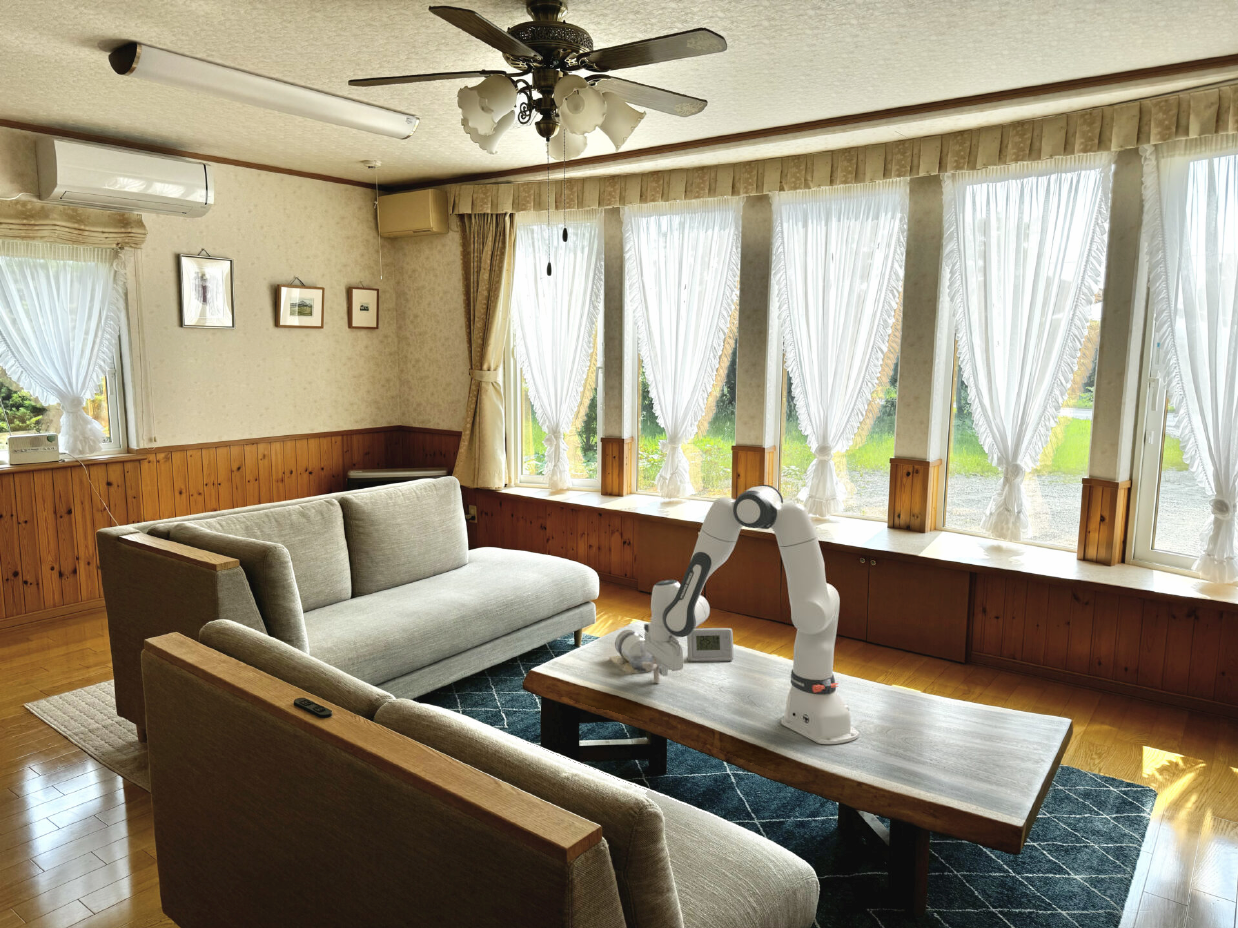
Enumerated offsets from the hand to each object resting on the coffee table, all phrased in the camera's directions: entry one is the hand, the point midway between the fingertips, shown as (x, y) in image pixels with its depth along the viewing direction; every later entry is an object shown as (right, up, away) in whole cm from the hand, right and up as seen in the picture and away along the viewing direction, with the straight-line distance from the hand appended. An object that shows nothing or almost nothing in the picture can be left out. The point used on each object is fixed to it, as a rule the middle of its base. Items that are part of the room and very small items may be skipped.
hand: (662, 674), depth 260 cm
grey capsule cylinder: (-8, -2, +20) cm, 22 cm away
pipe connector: (-2, -4, +5) cm, 6 cm away
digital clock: (+18, -2, +27) cm, 32 cm away
